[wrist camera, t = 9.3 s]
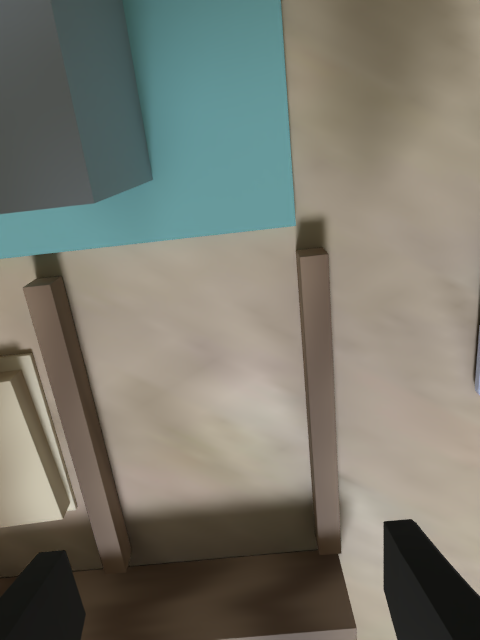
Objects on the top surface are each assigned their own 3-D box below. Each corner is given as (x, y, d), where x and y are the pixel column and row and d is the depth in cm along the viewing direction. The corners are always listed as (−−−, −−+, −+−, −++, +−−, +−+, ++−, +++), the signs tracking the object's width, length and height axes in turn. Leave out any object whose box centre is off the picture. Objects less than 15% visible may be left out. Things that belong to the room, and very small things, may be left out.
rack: (322, 247, 17) (346, 274, 14) (337, 563, 23) (357, 644, 19) (-165, 301, 18) (-271, 341, 14) (-35, 596, 24) (-86, 680, 20)
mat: (264, -210, 13) (265, -223, 12) (294, 223, 17) (295, 225, 17) (-153, -151, 13) (-167, -161, 13) (-23, 259, 17) (-31, 262, 17)
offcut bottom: (39, 345, 20) (30, 355, 19) (82, 494, 22) (76, 510, 21) (-75, 357, 20) (-90, 367, 19) (-18, 504, 23) (-29, 519, 22)
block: (103, -111, 13) (-29, -365, 7) (152, 180, 16) (94, 203, 9) (21, -100, 13) (-190, -341, 7) (84, 187, 16) (-21, 216, 9)
